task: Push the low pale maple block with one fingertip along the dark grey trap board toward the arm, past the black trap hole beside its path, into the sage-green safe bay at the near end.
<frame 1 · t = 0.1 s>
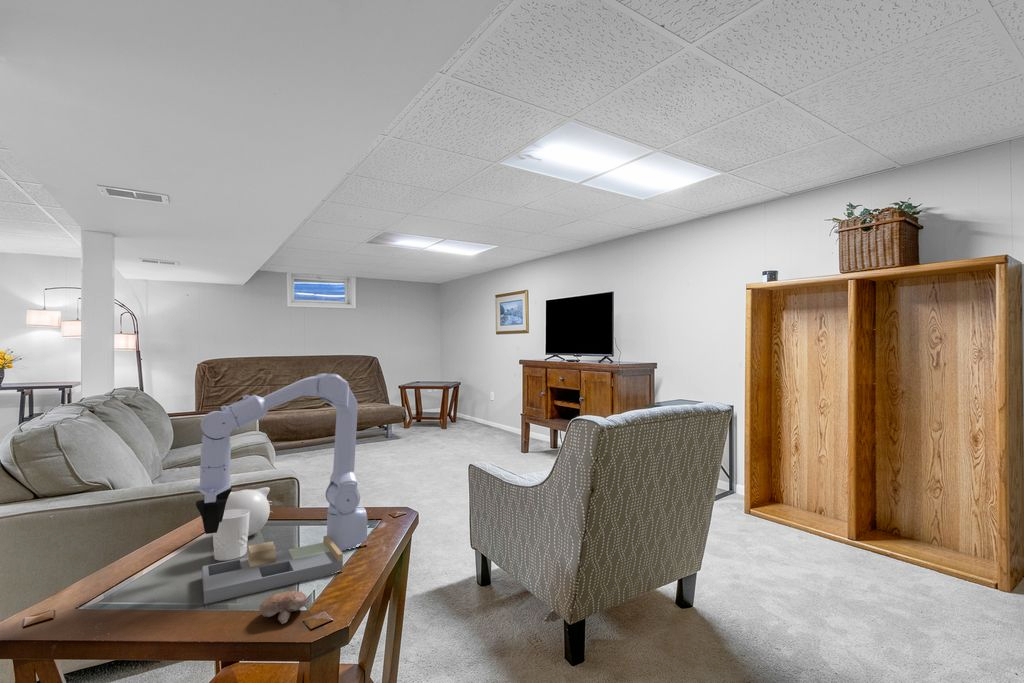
hand: (213, 527, 108), 10 cm above the table, fingers open, 7 cm apart
cat head: (243, 537, 131), on the table
white cup: (230, 556, 118), on the table
maple block: (261, 560, 108), point 2 cm above the table, touching trap board
mushroom: (283, 617, 89), on the table
trap board: (273, 574, 107), on the table
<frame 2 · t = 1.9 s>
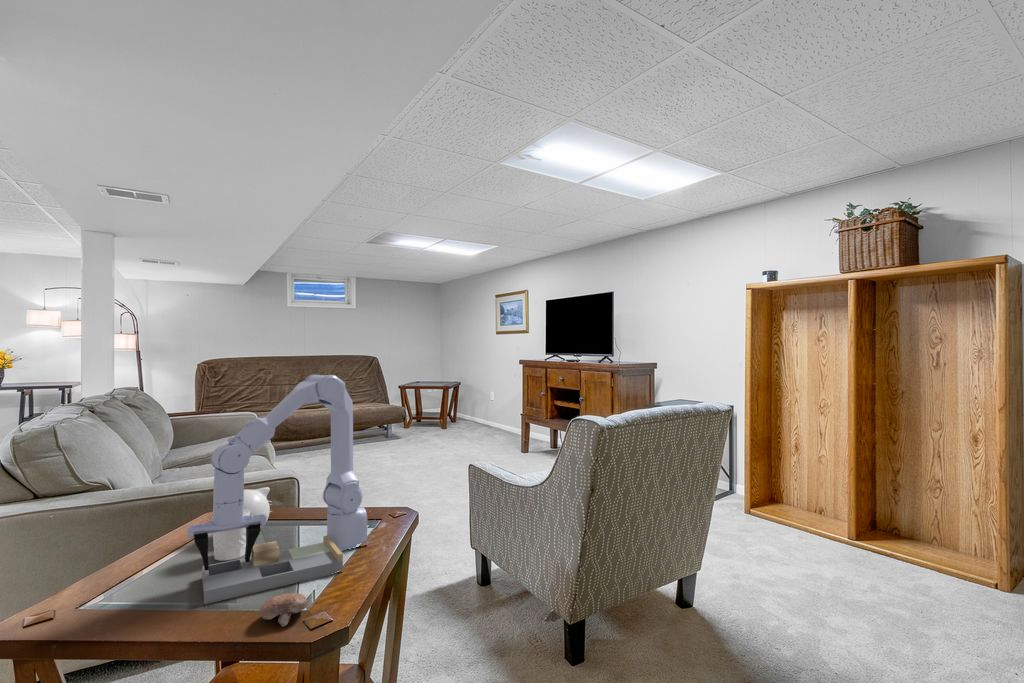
hand: (227, 564, 104), 3 cm above the table, fingers open, 7 cm apart
maple block: (265, 560, 108), point 3 cm above the table, touching gripper, trap board
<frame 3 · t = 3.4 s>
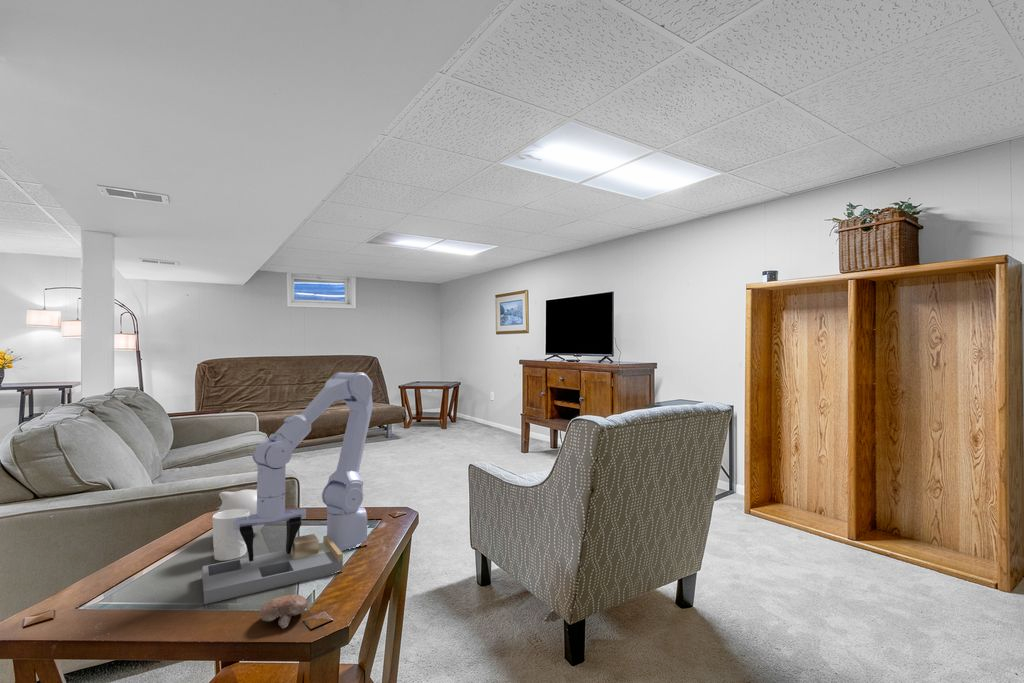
hand: (270, 556, 109), 3 cm above the table, fingers open, 7 cm apart
maple block: (304, 552, 113), point 2 cm above the table, touching gripper, trap board
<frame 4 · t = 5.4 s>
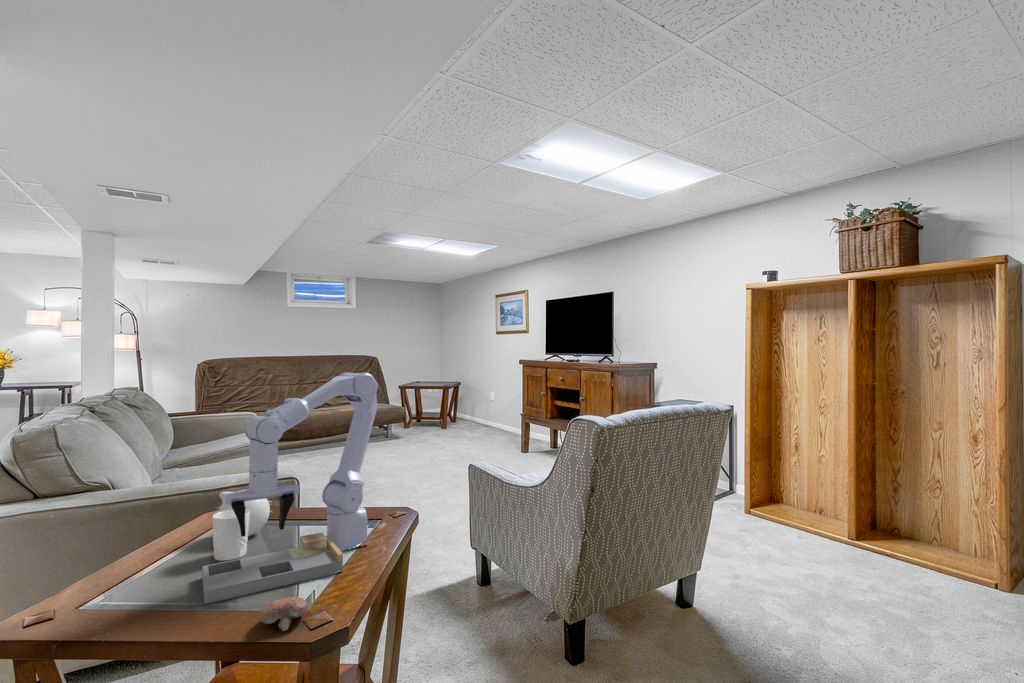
hand: (262, 531, 108), 9 cm above the table, fingers open, 7 cm apart
maple block: (313, 550, 114), point 2 cm above the table, touching trap board
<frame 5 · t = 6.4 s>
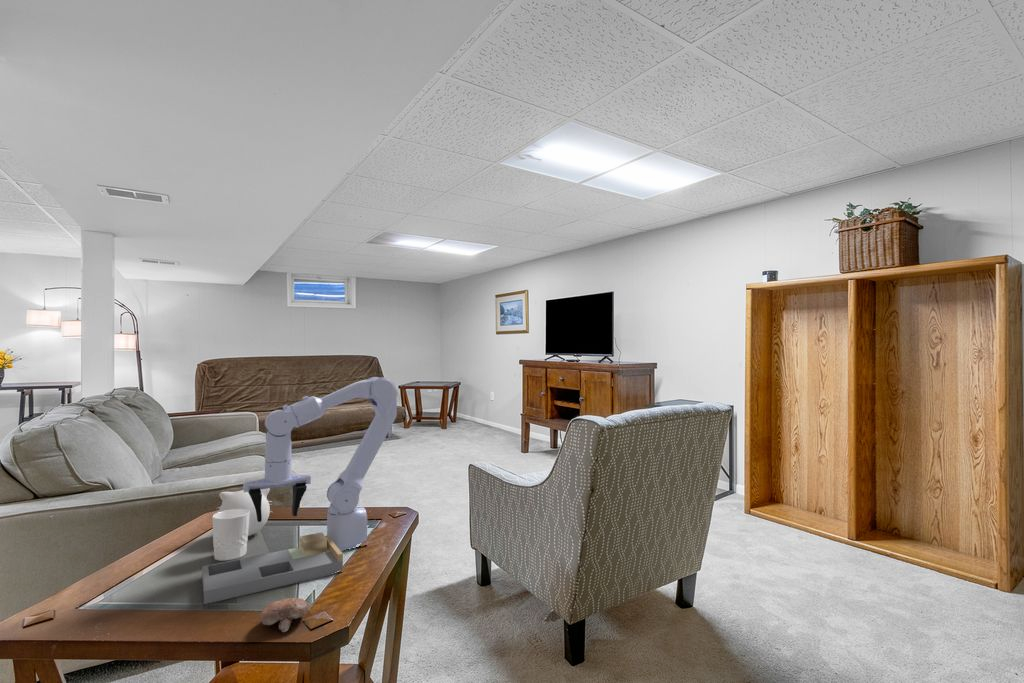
hand: (277, 517, 116), 9 cm above the table, fingers open, 7 cm apart
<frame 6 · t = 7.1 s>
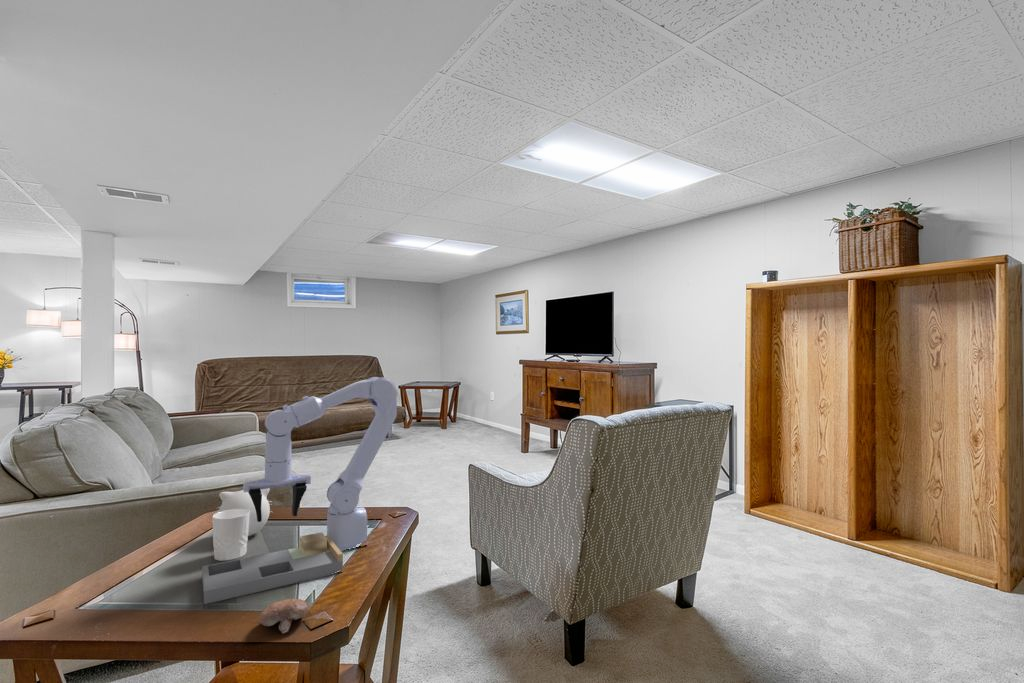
hand: (277, 517, 116), 9 cm above the table, fingers open, 7 cm apart
at the end: maple block 0.8 cm from the target spot on the trap board, point 2.5 cm above the trap board's base; maple block tilted 0° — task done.
